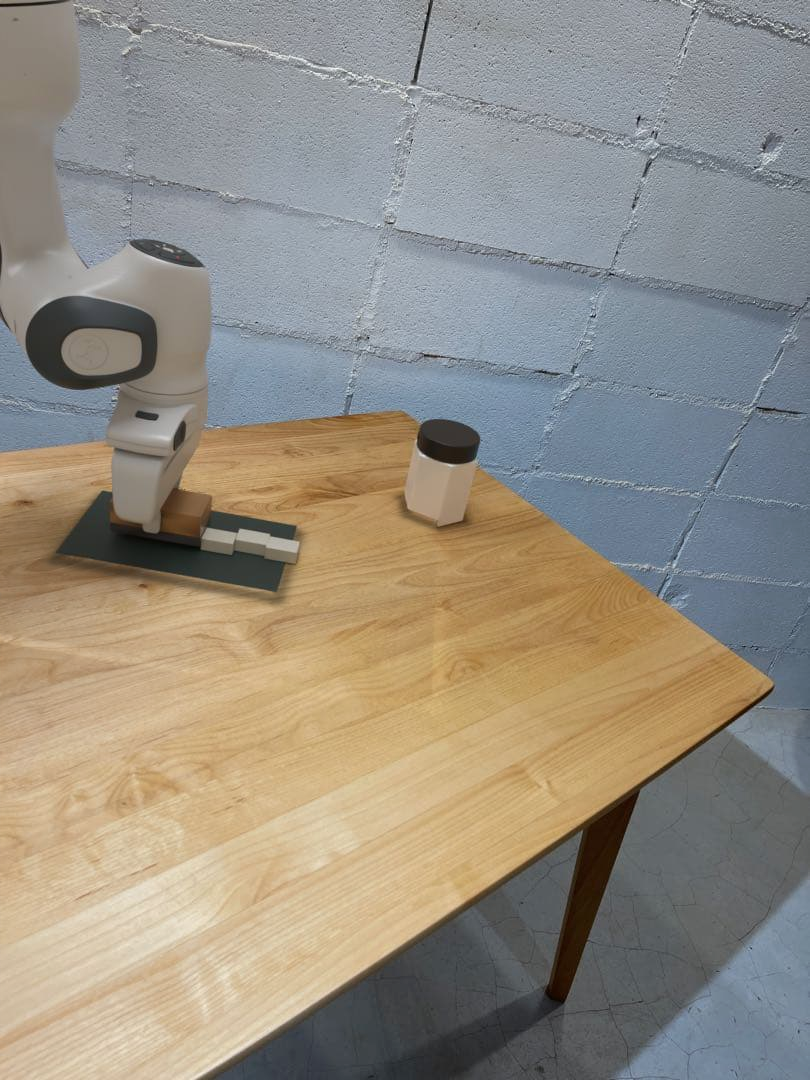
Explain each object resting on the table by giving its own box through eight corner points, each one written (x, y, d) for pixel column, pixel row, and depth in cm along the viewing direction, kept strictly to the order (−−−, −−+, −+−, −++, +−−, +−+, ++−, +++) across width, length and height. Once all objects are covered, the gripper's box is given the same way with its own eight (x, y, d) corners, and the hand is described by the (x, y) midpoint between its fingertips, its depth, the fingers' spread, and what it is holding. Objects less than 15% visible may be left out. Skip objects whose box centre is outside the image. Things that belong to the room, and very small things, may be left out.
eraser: (110, 531, 91) (109, 500, 89) (125, 509, 95) (125, 479, 93) (199, 547, 92) (201, 517, 89) (210, 524, 96) (212, 495, 94)
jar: (438, 490, 117) (456, 414, 111) (474, 519, 112) (495, 441, 106) (389, 501, 112) (404, 422, 106) (424, 531, 107) (443, 450, 101)
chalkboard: (55, 561, 88) (54, 552, 87) (102, 498, 100) (102, 490, 99) (275, 600, 89) (276, 591, 89) (296, 533, 101) (297, 525, 100)
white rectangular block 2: (234, 550, 94) (235, 539, 93) (238, 539, 96) (239, 528, 95) (265, 556, 94) (266, 544, 93) (268, 545, 96) (270, 533, 95)
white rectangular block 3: (264, 558, 93) (265, 547, 92) (268, 547, 95) (269, 536, 95) (295, 564, 94) (296, 552, 93) (298, 552, 96) (300, 541, 95)
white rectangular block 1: (200, 549, 92) (201, 538, 92) (205, 538, 94) (206, 527, 94) (231, 555, 93) (232, 543, 92) (236, 544, 95) (237, 532, 94)
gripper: (163, 363, 94) (160, 468, 101) (98, 438, 76) (101, 558, 84) (217, 373, 94) (211, 477, 101) (166, 450, 77) (162, 569, 84)
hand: (161, 515), depth 92 cm, fingers closed on eraser, 5 cm apart
